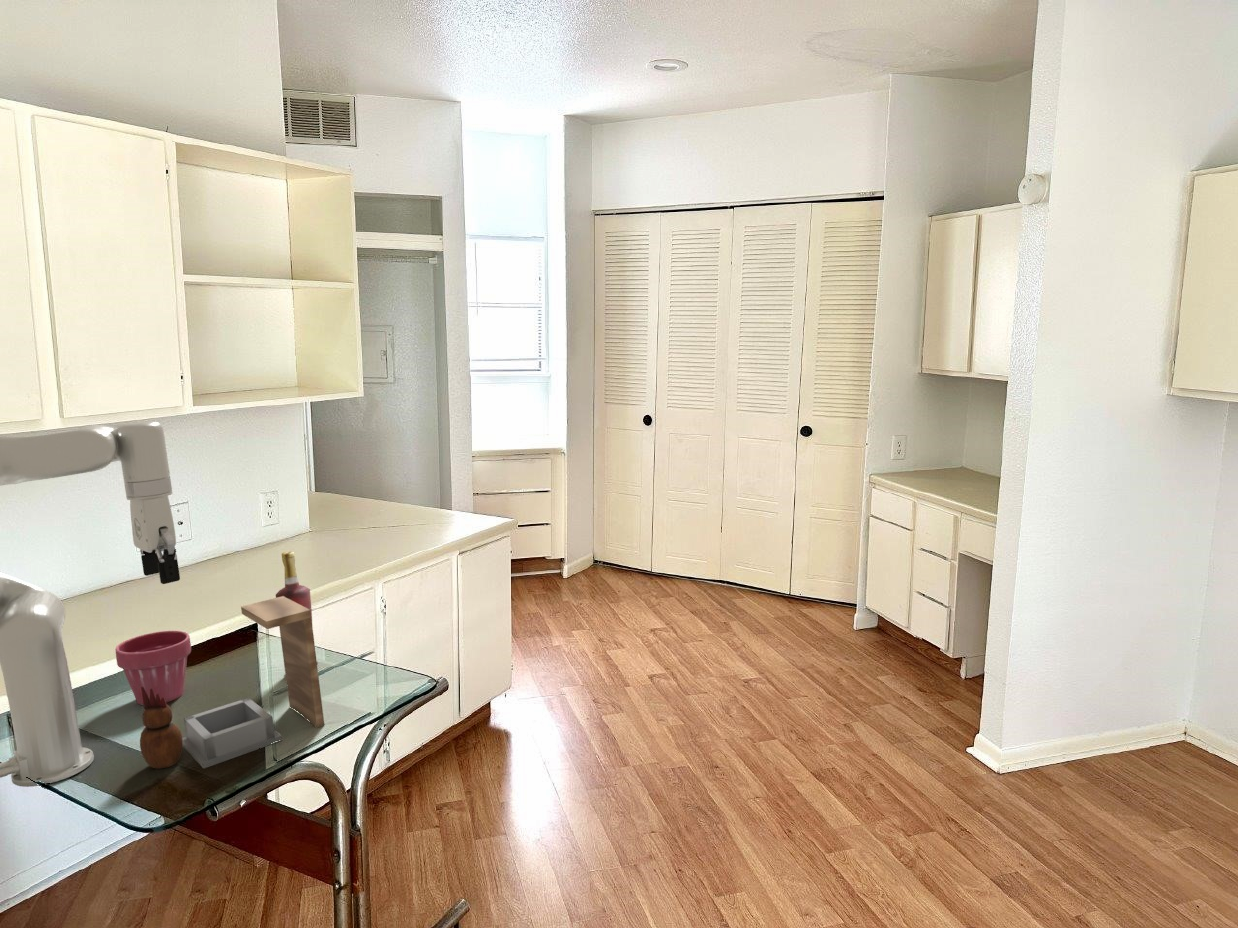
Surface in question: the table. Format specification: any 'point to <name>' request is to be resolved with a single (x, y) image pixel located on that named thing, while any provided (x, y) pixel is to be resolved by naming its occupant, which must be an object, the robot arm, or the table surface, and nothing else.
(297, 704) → the wooden l-shaped stand
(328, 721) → the table surface
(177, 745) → the wooden figurine
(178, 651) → the plant pot
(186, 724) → the socket
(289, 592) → the liquor
